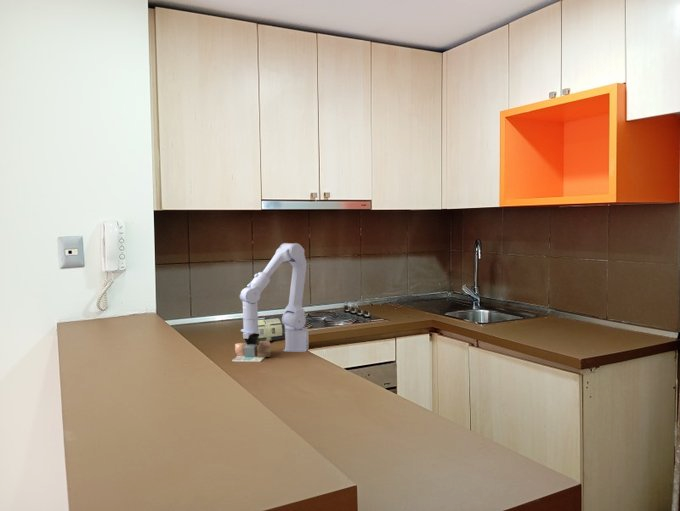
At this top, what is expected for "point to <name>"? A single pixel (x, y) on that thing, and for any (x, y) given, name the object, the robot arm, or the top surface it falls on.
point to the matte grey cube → (250, 350)
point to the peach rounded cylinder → (264, 343)
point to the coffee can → (271, 330)
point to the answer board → (248, 359)
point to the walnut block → (263, 351)
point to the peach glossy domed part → (239, 349)
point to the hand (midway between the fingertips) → (251, 352)
